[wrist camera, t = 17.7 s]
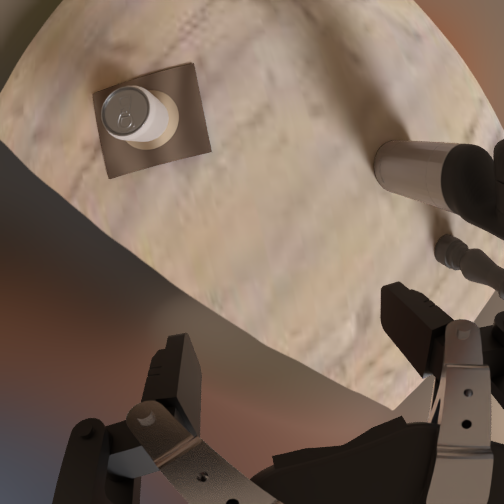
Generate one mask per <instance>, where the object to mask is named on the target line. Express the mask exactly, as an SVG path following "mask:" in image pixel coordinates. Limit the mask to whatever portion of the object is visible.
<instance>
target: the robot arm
mask: <svg viewBox="0 0 504 504" xmlns="http://www.w3.org/2000/svg"><path fill="white" fill-rule="evenodd" d="M493 157H494V161H493V159H492V157H491V156H490V155H489V153H488V152H487V151H486V150H484V149H483V148H481V147H479V146H477V145H472V144H459V143H444V142H426V141H398V140H395V141H389V142H387V143H385V144H384V145H382V146H381V148H380V149H379V150H378V152H377V154H376V157H375V162H374V170H375V175H376V178H377V180H378V182H379V183H380V185H381V186H382V187H383V188H384V189H386V190H387V191H389V192H392V193H395V194H398V195H402V196H405V197H408V198H411V199H414V200H417V201H420V202H423V203H426V204H429V205H432V206H435V207H438V208H441V209H444V210H447V211H449V212H452V213H455V214H458V215H460V216H461V217H462V218H463V219H464V220H465V221H467V222H468V223H471V224H473V225H475V226H477V227H479V228H481V229H483V230H485V231H487V232H489V233H491V234H493V235H495V236H497V237H498V238H500V239H502V240H504V139H503V140H501V141H499V142H498V143H497V144H496V146H495V148H494V156H493ZM381 324H382V327H383V329H384V331H385V332H386V334H387V335H388V336H389V337H390V338H391V340H392V341H393V342H394V343H395V345H396V346H397V347H398V348H399V349H400V351H401V352H402V353H403V354H404V356H405V357H406V358H407V359H408V361H409V362H410V363H411V364H412V366H413V367H414V368H415V369H416V371H417V372H418V373H419V375H420V376H421V377H422V378H426V377H428V376H430V375H432V374H433V375H434V376H435V379H434V384H433V391H432V399H431V405H430V411H429V417H428V421H427V422H413V423H406V422H405V420H404V419H403V417H402V416H400V417H398V418H395V419H393V420H390V421H388V422H385V423H383V424H381V425H378V426H375V427H373V428H371V429H369V430H368V431H366V432H365V433H363V434H361V435H360V436H358V437H357V438H355V439H353V440H351V441H350V442H348V443H346V444H344V445H341V446H332V447H320V448H305V449H301V450H297V451H293V452H289V453H284V454H280V455H275V456H272V458H273V463H274V465H272V466H270V467H268V468H266V469H264V470H262V471H260V472H259V473H257V474H256V475H254V476H253V477H252V478H251V479H250V480H249V479H248V478H247V477H245V476H244V475H243V474H242V473H241V472H239V471H238V470H237V469H236V468H234V467H233V466H232V465H231V464H229V463H228V462H227V461H226V460H225V459H224V458H222V457H221V456H220V455H219V454H218V453H217V452H215V451H214V450H213V449H212V448H211V447H210V446H209V445H208V444H206V443H205V442H204V441H203V440H202V439H201V438H200V411H201V381H202V375H201V368H200V364H199V361H198V359H197V356H196V353H195V351H194V348H193V345H192V343H191V340H190V337H189V335H188V334H187V333H182V334H176V335H171V336H168V339H167V344H166V348H165V349H161V350H158V351H157V353H156V354H155V355H154V357H153V358H152V360H151V364H150V370H149V371H148V377H147V379H146V383H145V388H144V392H143V396H142V400H141V403H139V404H137V405H135V406H134V407H133V408H132V409H131V410H130V411H129V413H128V414H127V416H126V420H124V421H122V422H119V423H116V424H112V425H109V426H105V425H104V424H103V423H102V422H101V421H100V420H99V419H96V418H88V419H85V420H82V421H81V422H79V423H78V424H77V425H76V426H75V427H74V428H73V430H72V432H71V435H70V438H69V441H68V445H67V448H66V452H65V455H64V458H63V462H62V466H61V469H60V473H59V477H58V481H57V485H56V489H55V493H54V498H53V503H52V504H140V488H141V476H143V475H146V474H150V473H153V472H156V471H161V472H162V473H163V475H164V476H165V477H166V478H167V479H168V480H169V482H170V483H171V484H172V485H173V486H174V487H175V489H177V491H178V492H179V493H180V494H181V495H182V496H183V497H184V499H185V500H186V501H188V503H189V504H504V444H500V443H497V442H493V441H491V394H492V395H493V396H494V398H495V399H496V400H497V401H498V403H499V404H500V405H501V407H502V408H503V409H504V311H503V312H500V313H498V314H497V315H496V316H495V319H494V323H493V325H491V326H486V327H481V328H479V327H478V326H477V325H476V324H475V323H473V322H471V321H469V320H463V319H459V320H453V319H452V318H451V317H450V316H449V315H447V314H446V313H445V312H444V311H443V310H442V309H440V308H439V307H438V306H437V305H436V306H435V304H434V303H433V302H432V301H431V300H429V299H428V298H427V297H426V296H425V295H424V294H422V293H420V292H418V291H415V290H412V289H411V290H409V289H408V288H407V287H405V286H404V285H403V284H402V283H401V282H395V283H392V284H388V285H385V286H383V287H382V288H381Z"/></svg>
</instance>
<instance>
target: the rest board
mask: <svg viewBox="0 0 504 504" xmlns="http://www.w3.org/2000/svg"><path fill="white" fill-rule="evenodd" d="M125 86H139V87H142V88H144V89H146V90H148V91H149V92H150V93H151V94H153V95H154V96H155V97H156V98H157V99H158V100H159V101H160V102H161V103H162V104H163V105H164V106H165V107H166V109H167V111H168V116H169V121H168V125H167V128H166V130H165V131H164V132H163V134H162V135H161V136H159V137H158V138H156V139H154V140H152V141H148V142H138V141H127V140H120V139H117V138H115V137H113V136H112V135H111V134H109V133H108V131H107V130H106V128H105V127H104V125H103V123H102V120H101V109H102V106H103V103H104V101H105V100H106V98H107V97H108V96H109V95H110V94H111V93H112V92H113V91H115V90H116V89H118V88H121V87H125ZM93 101H94V107H95V113H96V119H97V125H98V130H99V136H100V141H101V146H102V150H103V155H104V160H105V164H106V169H107V173H108V177H109V179H112V178H115V177H118V176H122V175H125V174H128V173H132V172H135V171H138V170H142V169H145V168H149V167H153V166H156V165H160V164H164V163H168V162H171V161H175V160H179V159H183V158H188V157H192V156H196V155H200V154H205V153H209V152H212V151H211V146H210V141H209V136H208V132H207V127H206V122H205V117H204V112H203V107H202V102H201V97H200V92H199V87H198V82H197V77H196V72H195V66H194V63H193V64H189V65H184V66H180V67H176V68H172V69H168V70H164V71H160V72H157V73H153V74H150V75H146V76H143V77H140V78H136V79H133V80H130V81H127V82H124V83H121V84H118V85H115V86H112V87H110V88H107V89H104V90H101V91H99V92H96V93H94V94H93Z"/></svg>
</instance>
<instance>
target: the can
mask: <svg viewBox="0 0 504 504" xmlns="http://www.w3.org/2000/svg"><path fill="white" fill-rule="evenodd" d="M101 120H102V123H103V125H104V127H105V128H106V130H107V131H108V133H109V134H111V135H112V136H113V137H115V138H117V139H120V140H127V141H138V142H148V141H152V140H154V139H156V138H158V137H159V136H161V135H162V134H163V132H164V131H165V130H166V128H167V125H168V121H169V116H168V111H167V109H166V107H165V106H164V105H163V104H162V103H161V102H160V101H159V100H158V99H157V98H156V97H155V96H154V95H153V94H151V93H150V92H149V91H148V90H146V89H144V88H142V87H139V86H125V87H121V88H118V89H116V90H115V91H113V92H112V93H111V94H110V95H109V96H108V97H107V98H106V100H105V101H104V103H103V106H102V109H101Z"/></svg>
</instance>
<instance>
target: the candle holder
mask: <svg viewBox="0 0 504 504" xmlns="http://www.w3.org/2000/svg"><path fill="white" fill-rule="evenodd" d="M435 258H436V260H437V261H438V262H440V263H442V264H443V265H445V266H446V267H448V268H452V269H454V270H461V271H462V274H463V276H464V277H465V278H466V279H468V280H469V281H473V282H477V283H480V284H484V285H488V286H490V287H492V288H493V289H495V290H497V291H498V293H499V297H500V298H502V299H503V300H504V269H503V268H501V267H499V266H497V265H496V264H495V263H494V262H493V261H492V260H491V259H490V258H489V257H488V256H487V255H486V254H485V253H484V252H483V251H482V250H480V249H468V246H467V245H466V244H465V243H463V242H462V241H461V240H460V239H458V238H456V237H453V236H451V235H444V236H442V237H441V238H440V239H439V241H438V242H437V245H436V247H435Z"/></svg>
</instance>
